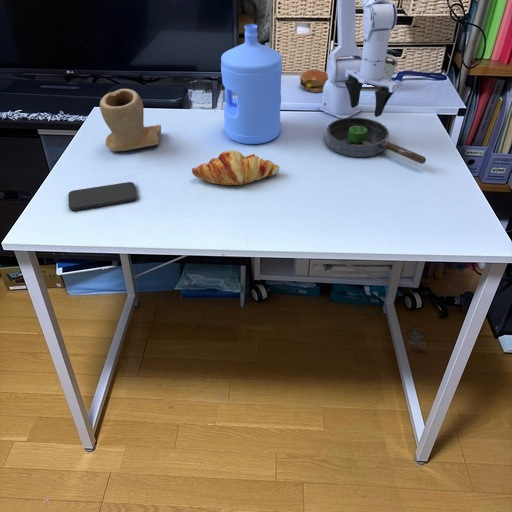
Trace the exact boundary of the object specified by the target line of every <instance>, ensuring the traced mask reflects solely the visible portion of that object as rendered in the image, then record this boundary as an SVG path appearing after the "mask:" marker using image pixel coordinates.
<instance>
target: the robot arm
mask: <svg viewBox="0 0 512 512" xmlns="http://www.w3.org/2000/svg"><path fill="white" fill-rule="evenodd" d="M359 1H360V4H361V8H362V10H363V11H362V12H363V14H362V38H363V46H362V49H361V48H359V47H358V46H357V39H356V38H357V37H356V36H357V33H356V32H357V31H356V28H357V27H356V25H357V24H356V23H357V22H356V21H357V20H356V16H357V15H356V0H336V2H337V3H336V4H337V5H336V8H337V13H336V14H337V46H336V47H335V48H334V49H333V50H332V51H331V52H330V53H329V54H328V57H327V61H328V62H327V66H326V71H327V75H328V80H327V81H326V83H325V85H324V87H323V91H322V98H321V107H319V110H320V111H322V112H324V113H327V114H329V115H332V116H333V117H336V118H339V119H342V118H350V117H352V116H354V115H357V114H358V113H360V112H361V109H359V108H357V107H358V106H359V102H360V96H361V92H362V90H361V88H362V85H363V84H365V83H369V84H372V85H374V86H377V87H380V88H381V89H380V90H377V91H376V90H374V91H375V92H374V95H375V96H374V97H375V107H374V117H375V118H378V117H380V116H382V115H383V112H384V110H385V108H386V106H387V103H388V101H389V100H390V98H391V97H392V96H393V94H394V93H395V92H397V90H398V84H399V83H398V82H396V81H394V80H393V79H392V80H390V79H389V78H387V77H385V76H384V75H383V72H384V66H385V60H386V54H388V46H389V40H390V34H391V31H393V30H394V29H395V27H396V24H397V22H398V21H397V20H398V8H397V6H396V3H395V2H393V1H392V0H359ZM347 57H351V58H347Z"/></svg>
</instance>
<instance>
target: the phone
mask: <svg viewBox="0 0 512 512" xmlns="http://www.w3.org/2000/svg"><path fill="white" fill-rule="evenodd" d="M67 197H68V199H67V200H68V208H69V210H70V211H78V210H84V209H92V208H97V207H104V206H109V205H115V204H121V203H122V204H123V203H128V202H134V201H136V200H137V198H138V195H137V191H136V187H135V183H134V182H133V181H126V182H120V183H114V184H113V183H112V184H108V185H107V184H106V185H101V186H96V187H95V186H93V187H87V188H80V189H73V190H70V191H69V192H68V196H67Z"/></svg>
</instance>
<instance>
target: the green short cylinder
mask: <svg viewBox="0 0 512 512" xmlns="http://www.w3.org/2000/svg"><path fill="white" fill-rule="evenodd" d="M366 136H367V129H366V128H365V127H363V126H351V127H350V128H349V133H348V139H349V140H350V141H352V142H353V143H356V144H358V143H361V142H364V141H365V140H366Z"/></svg>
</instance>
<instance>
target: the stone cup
mask: <svg viewBox="0 0 512 512" xmlns="http://www.w3.org/2000/svg"><path fill="white" fill-rule="evenodd" d="M99 109H100V113H101V116H102V119H103V121H104V123H105V125H106V126H107V127H108V129H109V130H110V131H111V133H109V134H108V135H107V137H106V139H105V146H106V148H107V149H108V150H110V151H112V152H125V151H131V150H137V149H141V148H142V149H143V148H148V147H153V146H157V145H158V144H159V143H160V139H161V136H162V125H161V124H156V125H150V126H145V125H144V123H145V122H144V117H145V116H144V114H145V113H144V112H145V110H144V103H143V100H142V97H140V95H139V94H138V92H136V91H135V90H133V89H130V88H120V89H117V90H114V91H110V92H108V93H106V94H105V95H104V96H103V97H102V98H101V99H100V101H99Z"/></svg>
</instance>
